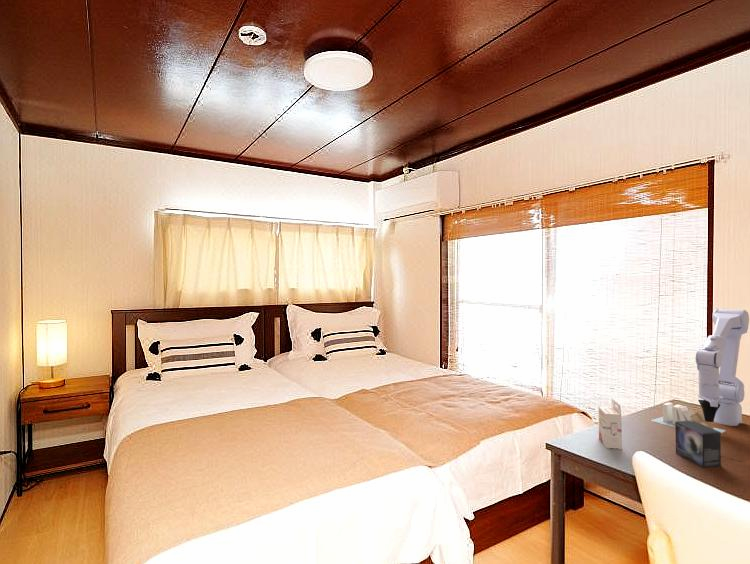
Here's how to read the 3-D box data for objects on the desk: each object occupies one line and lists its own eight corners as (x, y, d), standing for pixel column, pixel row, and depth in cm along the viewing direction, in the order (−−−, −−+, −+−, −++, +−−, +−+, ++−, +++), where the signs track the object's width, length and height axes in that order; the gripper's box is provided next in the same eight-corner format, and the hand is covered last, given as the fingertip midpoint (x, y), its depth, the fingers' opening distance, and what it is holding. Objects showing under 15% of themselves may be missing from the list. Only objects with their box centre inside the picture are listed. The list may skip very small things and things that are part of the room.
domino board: (666, 417, 169) (666, 415, 169) (726, 432, 151) (726, 430, 151) (649, 422, 163) (649, 420, 163) (711, 439, 145) (711, 437, 145)
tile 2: (699, 426, 155) (688, 409, 158) (703, 425, 154) (691, 408, 157) (693, 429, 153) (682, 411, 156) (697, 427, 152) (685, 410, 155)
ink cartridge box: (597, 438, 148) (597, 397, 147) (613, 439, 147) (612, 397, 146) (606, 448, 139) (605, 404, 139) (622, 449, 138) (622, 405, 138)
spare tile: (710, 429, 152) (695, 414, 156) (714, 427, 151) (698, 411, 155) (705, 432, 150) (689, 416, 154) (708, 430, 149) (693, 414, 153)
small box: (673, 453, 135) (673, 420, 135) (692, 452, 136) (692, 419, 135) (702, 468, 124) (701, 432, 124) (722, 466, 125) (722, 431, 125)
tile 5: (668, 418, 164) (668, 402, 164) (672, 419, 163) (672, 403, 163) (662, 420, 162) (662, 404, 162) (667, 422, 161) (666, 405, 161)
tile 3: (688, 424, 158) (682, 406, 160) (693, 423, 157) (686, 406, 159) (683, 426, 156) (676, 408, 158) (687, 426, 155) (680, 408, 157)
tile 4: (678, 421, 161) (677, 404, 161) (683, 422, 160) (682, 405, 160) (672, 423, 159) (671, 406, 159) (677, 424, 158) (676, 407, 158)
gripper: (729, 389, 142) (729, 429, 142) (717, 380, 155) (717, 416, 155) (703, 387, 146) (703, 426, 146) (693, 378, 158) (694, 414, 159)
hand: (709, 421), depth 151 cm, fingers closed
